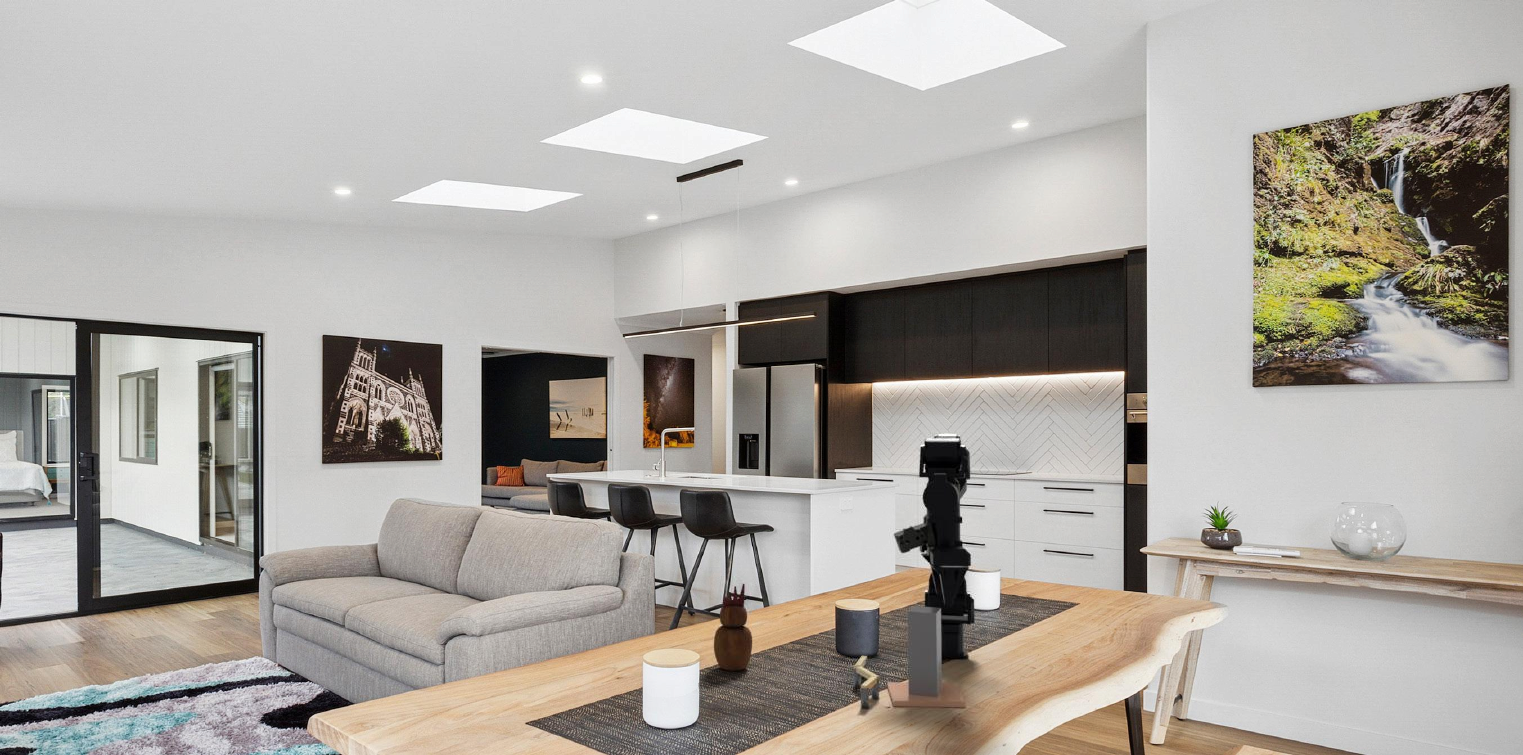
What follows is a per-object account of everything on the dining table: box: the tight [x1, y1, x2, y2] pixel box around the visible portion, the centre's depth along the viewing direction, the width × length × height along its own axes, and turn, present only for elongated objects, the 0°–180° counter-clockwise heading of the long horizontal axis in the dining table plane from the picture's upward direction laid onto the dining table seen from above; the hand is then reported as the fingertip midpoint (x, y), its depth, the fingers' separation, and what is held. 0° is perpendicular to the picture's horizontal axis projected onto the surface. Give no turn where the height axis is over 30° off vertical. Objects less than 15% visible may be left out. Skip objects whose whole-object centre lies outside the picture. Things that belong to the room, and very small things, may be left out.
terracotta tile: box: [887, 681, 966, 708], centre depth 143 cm, size 10×11×1 cm
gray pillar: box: [907, 605, 943, 697], centre depth 144 cm, size 4×4×13 cm
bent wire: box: [853, 655, 880, 710], centre depth 146 cm, size 18×4×3 cm, turn 177°
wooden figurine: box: [713, 583, 753, 672], centre depth 160 cm, size 7×6×15 cm
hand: (944, 600), depth 156 cm, fingers open, 9 cm apart
